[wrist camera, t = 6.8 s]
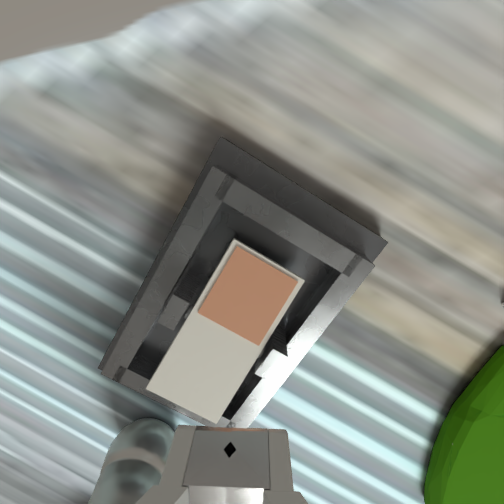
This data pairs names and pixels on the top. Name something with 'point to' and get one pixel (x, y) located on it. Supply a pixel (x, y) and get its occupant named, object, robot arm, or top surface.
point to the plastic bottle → (133, 462)
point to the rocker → (225, 331)
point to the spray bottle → (471, 443)
